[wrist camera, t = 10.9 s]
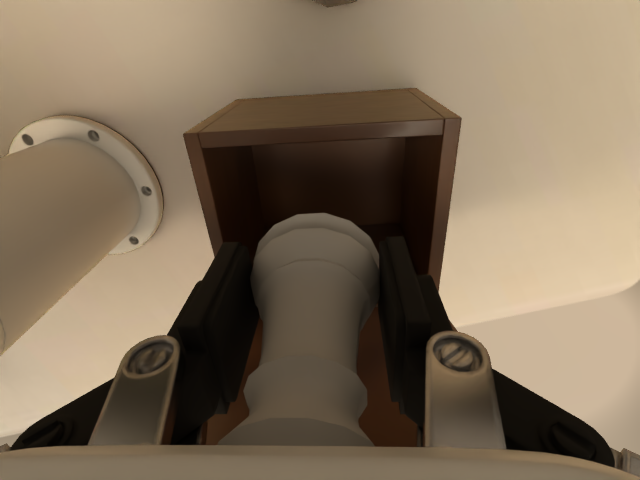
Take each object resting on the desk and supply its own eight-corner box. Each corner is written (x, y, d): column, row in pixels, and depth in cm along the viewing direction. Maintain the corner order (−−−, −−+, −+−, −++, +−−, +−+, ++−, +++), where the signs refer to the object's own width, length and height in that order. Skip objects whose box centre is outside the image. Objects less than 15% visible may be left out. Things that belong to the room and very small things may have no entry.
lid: (91, 463, 11) (119, 610, 12) (561, 468, 10) (546, 628, 11) (225, 309, 23) (233, 387, 24) (438, 305, 22) (437, 386, 23)
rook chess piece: (365, 191, 11) (409, 440, 4) (389, 296, 13) (445, 576, 6) (237, 222, 12) (102, 475, 5) (279, 317, 14) (225, 586, 7)
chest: (236, 99, 27) (181, 133, 17) (416, 87, 26) (462, 117, 16) (259, 231, 32) (228, 310, 23) (407, 226, 32) (436, 306, 22)
